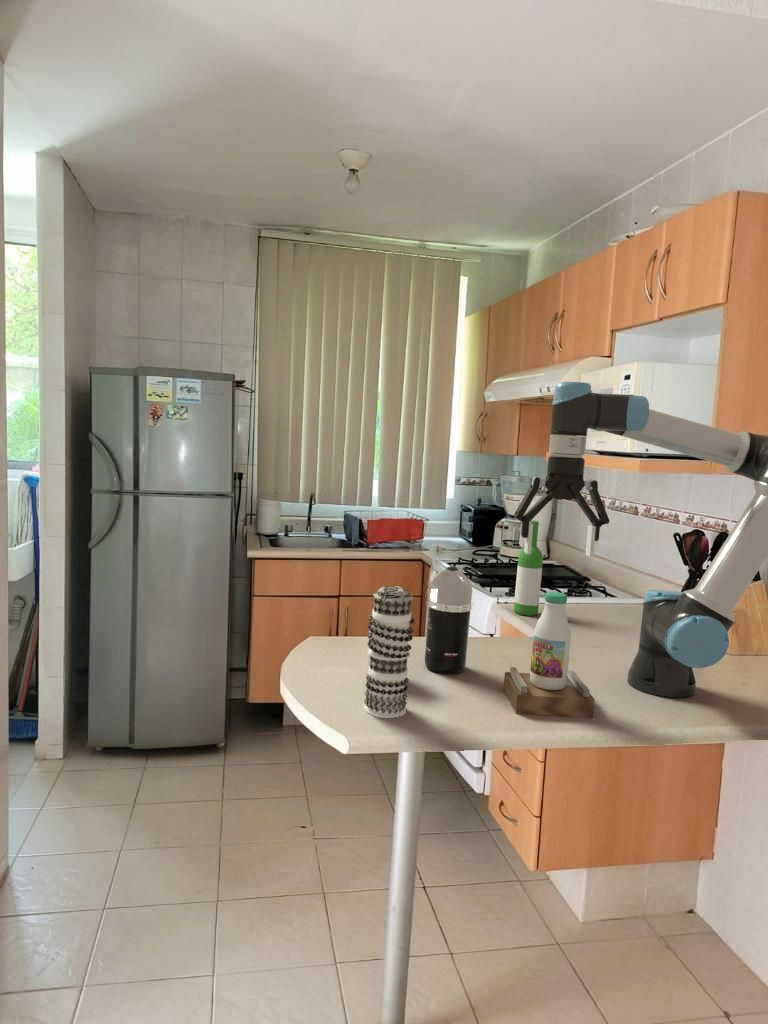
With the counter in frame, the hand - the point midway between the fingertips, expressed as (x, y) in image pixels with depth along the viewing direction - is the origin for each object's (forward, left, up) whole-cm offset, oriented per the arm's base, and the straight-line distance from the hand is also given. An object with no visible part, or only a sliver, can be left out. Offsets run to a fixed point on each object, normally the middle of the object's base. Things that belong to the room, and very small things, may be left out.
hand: (558, 554), depth 157 cm
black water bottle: (+21, -15, -32) cm, 41 cm away
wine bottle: (-12, -74, -32) cm, 82 cm away
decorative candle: (+36, +13, -32) cm, 50 cm away
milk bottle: (+1, +4, -28) cm, 28 cm away
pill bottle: (+36, -6, -32) cm, 48 cm away
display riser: (+1, +4, -32) cm, 32 cm away
